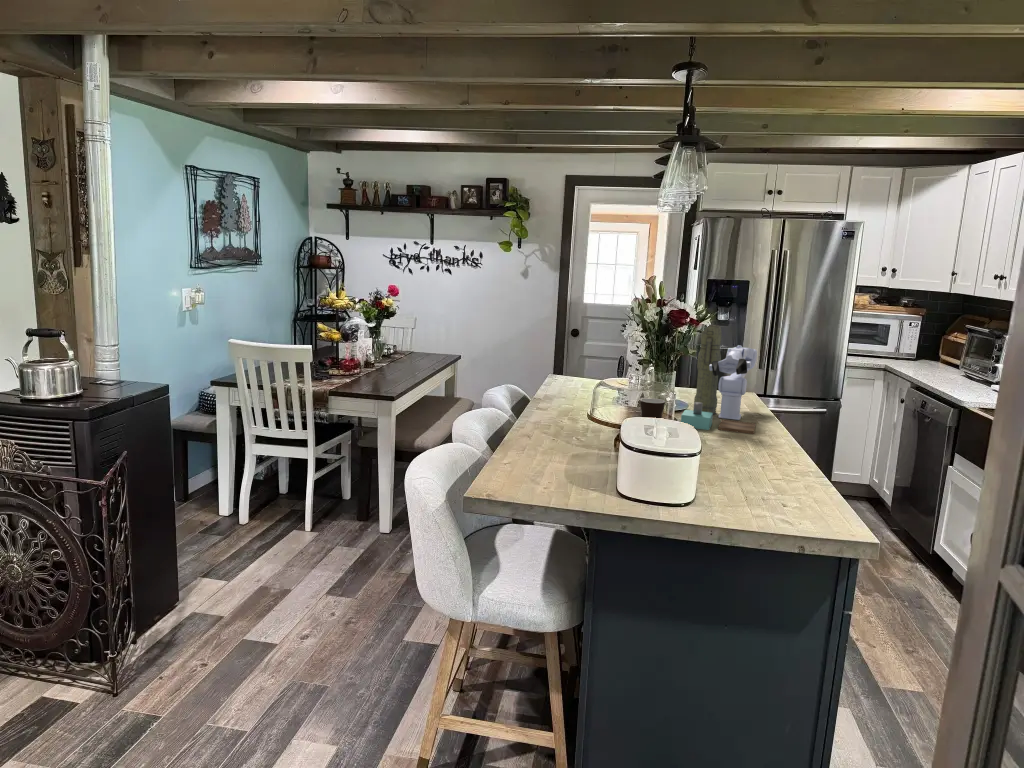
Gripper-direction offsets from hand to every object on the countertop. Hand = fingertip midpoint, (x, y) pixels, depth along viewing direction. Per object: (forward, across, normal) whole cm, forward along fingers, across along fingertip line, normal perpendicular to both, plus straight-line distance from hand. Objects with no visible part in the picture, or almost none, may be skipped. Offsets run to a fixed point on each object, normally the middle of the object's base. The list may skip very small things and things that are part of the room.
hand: (726, 372), depth 244 cm
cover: (+4, -12, +18) cm, 22 cm away
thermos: (-21, -14, +22) cm, 34 cm away
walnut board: (0, +1, +21) cm, 21 cm away
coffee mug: (+16, -25, +14) cm, 33 cm away
